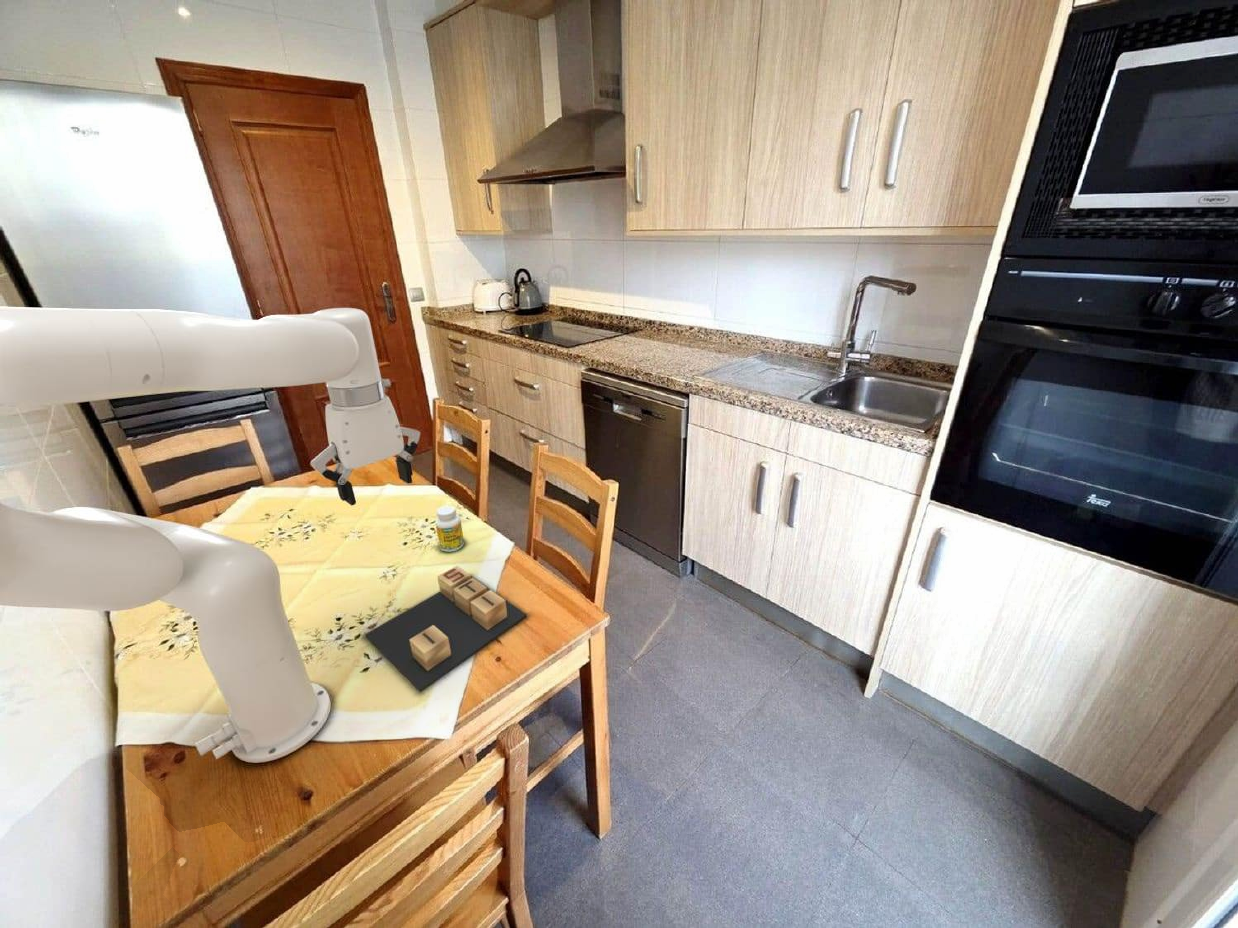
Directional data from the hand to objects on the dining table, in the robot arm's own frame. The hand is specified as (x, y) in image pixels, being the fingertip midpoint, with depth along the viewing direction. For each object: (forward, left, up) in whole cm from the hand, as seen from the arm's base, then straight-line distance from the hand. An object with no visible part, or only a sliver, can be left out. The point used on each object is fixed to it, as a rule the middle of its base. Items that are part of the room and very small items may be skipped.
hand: (379, 491), depth 84 cm
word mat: (+3, -9, -26) cm, 28 cm away
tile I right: (+9, -14, -26) cm, 31 cm away
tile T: (+9, -8, -26) cm, 29 cm away
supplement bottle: (+18, +12, -26) cm, 34 cm away
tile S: (+9, -3, -26) cm, 27 cm away
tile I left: (-3, -14, -26) cm, 29 cm away
